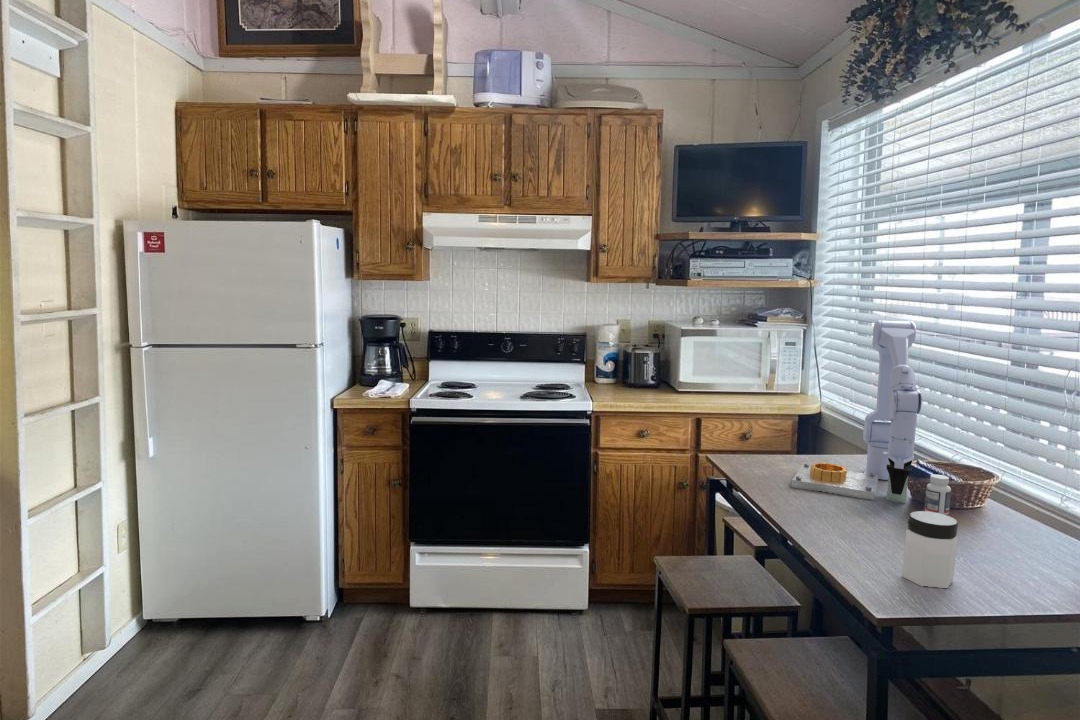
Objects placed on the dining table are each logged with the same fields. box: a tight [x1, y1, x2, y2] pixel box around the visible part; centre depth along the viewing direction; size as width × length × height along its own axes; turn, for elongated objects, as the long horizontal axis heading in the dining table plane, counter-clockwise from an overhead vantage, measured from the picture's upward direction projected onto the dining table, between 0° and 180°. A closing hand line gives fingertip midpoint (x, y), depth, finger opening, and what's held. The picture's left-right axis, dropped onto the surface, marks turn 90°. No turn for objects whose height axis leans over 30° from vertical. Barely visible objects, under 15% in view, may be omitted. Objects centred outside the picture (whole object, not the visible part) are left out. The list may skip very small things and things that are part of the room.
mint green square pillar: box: [886, 476, 909, 504], centre depth 189 cm, size 4×4×8 cm
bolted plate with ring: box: [791, 462, 879, 501], centre depth 201 cm, size 18×20×4 cm
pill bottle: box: [924, 473, 952, 516], centre depth 180 cm, size 5×5×9 cm
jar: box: [901, 510, 959, 589], centre depth 140 cm, size 9×8×12 cm
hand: (897, 490), depth 190 cm, fingers open, 7 cm apart
